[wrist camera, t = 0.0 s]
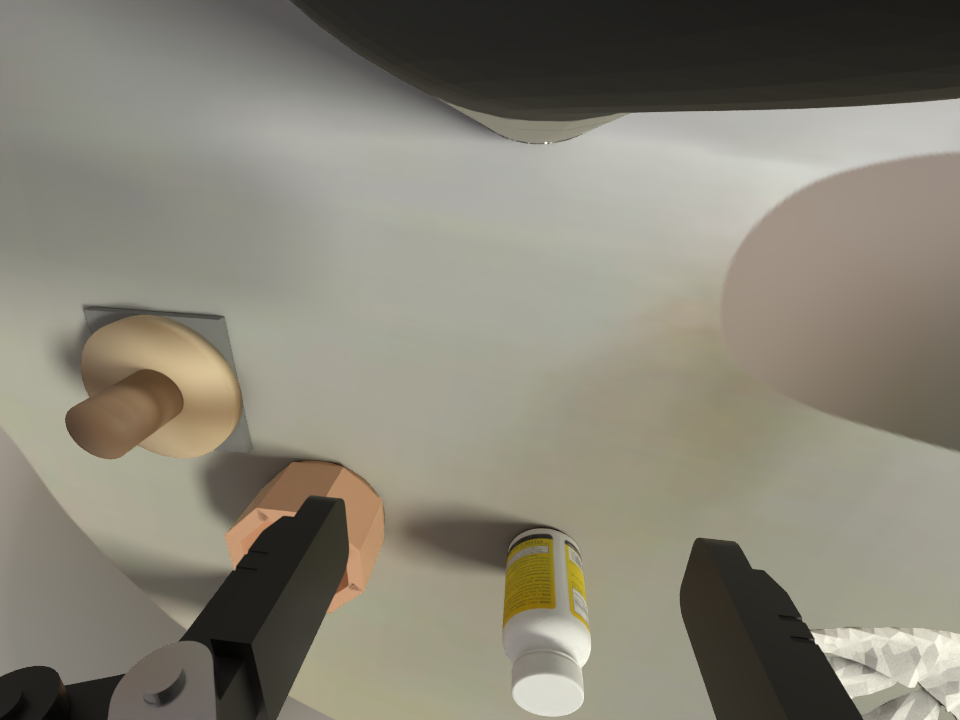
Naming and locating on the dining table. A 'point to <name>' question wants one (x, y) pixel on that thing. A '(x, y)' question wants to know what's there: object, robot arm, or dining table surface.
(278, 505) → the bowl
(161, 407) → the lid
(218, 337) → the mat
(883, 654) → the cloth
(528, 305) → the dining table surface
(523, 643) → the supplement bottle
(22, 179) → the dining table surface
